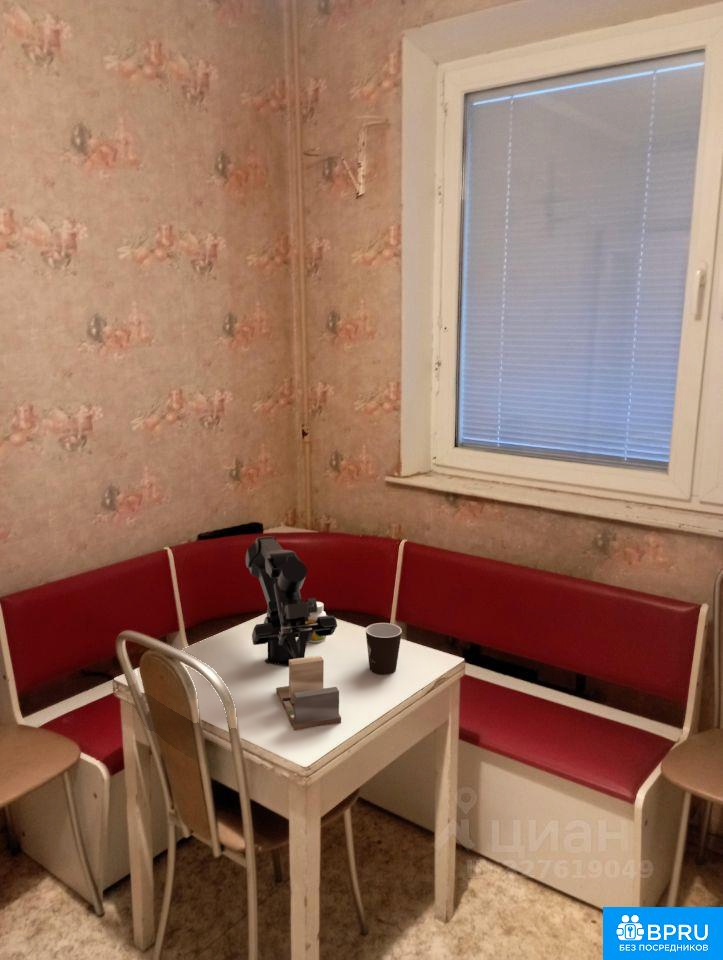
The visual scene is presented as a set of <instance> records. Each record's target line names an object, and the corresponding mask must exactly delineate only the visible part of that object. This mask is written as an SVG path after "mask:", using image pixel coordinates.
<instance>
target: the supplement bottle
mask: <svg viewBox="0 0 723 960" xmlns="http://www.w3.org/2000/svg"><path fill="white" fill-rule="evenodd" d="M316 603H317V612H314V613H310V617H308V618H309V619H308V621H306V624H308V623H316V621H317V619H318V617H323V616H327V613H326V611H324V609H325V608H324V603H323V602H321V601H316ZM326 640H327V636H321V637H319V636H318V635H316V634H315V631H313V635H312V637H311V639H310V641H308V642H309V643H312V644H314V643H315V644H319V643H322V642H324V641H326Z"/></svg>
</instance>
